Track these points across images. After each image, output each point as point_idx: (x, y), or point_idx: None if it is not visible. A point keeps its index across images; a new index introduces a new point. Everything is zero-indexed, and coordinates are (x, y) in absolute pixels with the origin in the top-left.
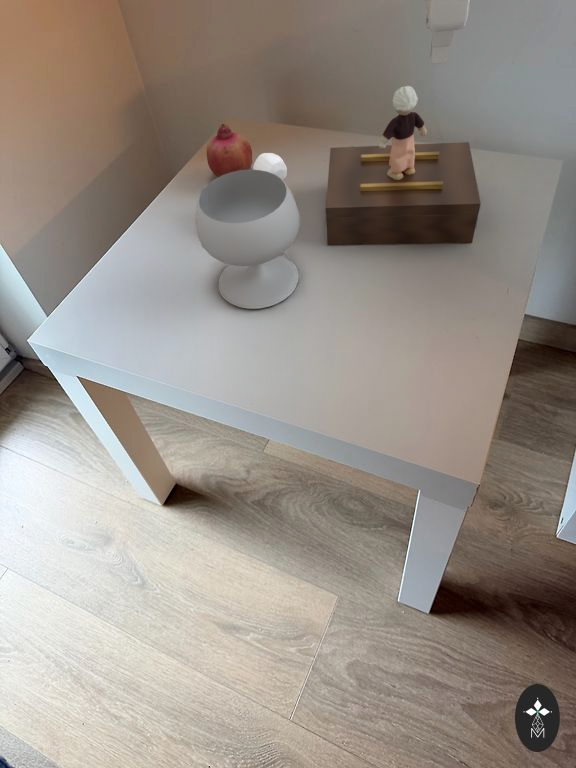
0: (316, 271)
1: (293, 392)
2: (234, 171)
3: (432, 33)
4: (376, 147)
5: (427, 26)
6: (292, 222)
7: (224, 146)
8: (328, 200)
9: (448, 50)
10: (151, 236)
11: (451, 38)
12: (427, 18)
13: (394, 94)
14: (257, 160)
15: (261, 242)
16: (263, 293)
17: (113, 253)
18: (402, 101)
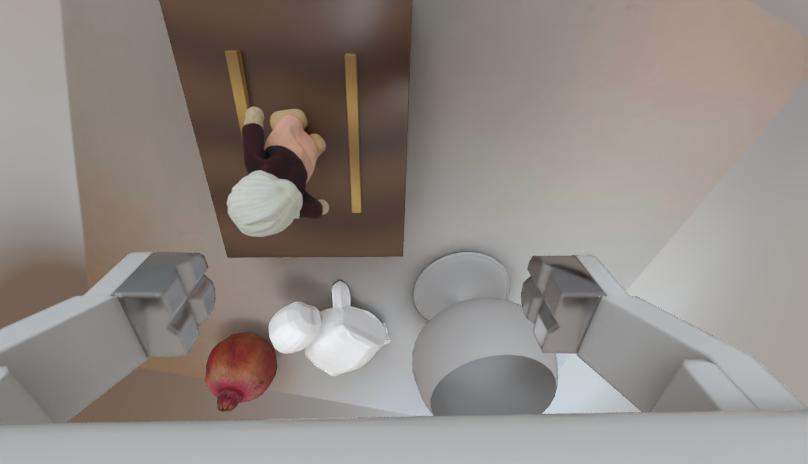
0: (450, 231)
1: (634, 242)
2: (272, 354)
3: (646, 411)
4: (213, 181)
5: (211, 304)
6: (520, 323)
7: (254, 389)
8: (384, 253)
9: (613, 280)
10: (374, 391)
11: (688, 324)
12: (198, 332)
13: (259, 236)
14: (292, 352)
15: None
16: (493, 287)
17: (400, 412)
18: (289, 217)
